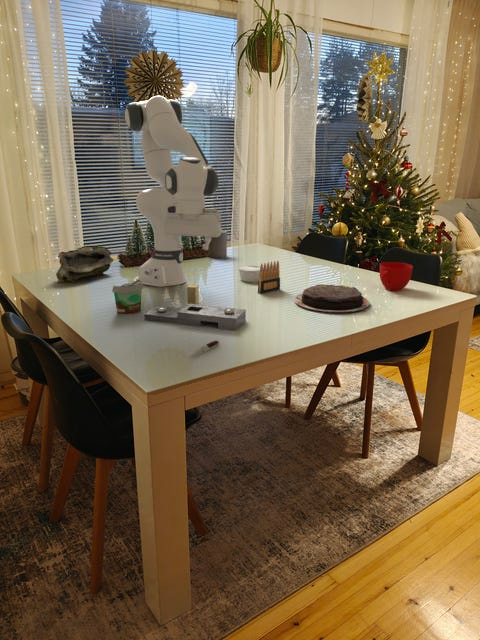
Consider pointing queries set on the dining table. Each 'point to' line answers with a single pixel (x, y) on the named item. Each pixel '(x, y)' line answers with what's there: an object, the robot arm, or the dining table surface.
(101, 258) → the hollow geode rock
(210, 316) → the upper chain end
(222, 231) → the pillar candle
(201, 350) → the pocket knife
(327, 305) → the chocolate cake
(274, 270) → the ammunition clip
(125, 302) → the food container
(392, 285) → the ceramic cup
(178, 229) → the robot arm
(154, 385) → the dining table surface
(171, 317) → the lower chain end
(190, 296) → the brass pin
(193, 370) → the dining table surface
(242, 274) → the ramekin
